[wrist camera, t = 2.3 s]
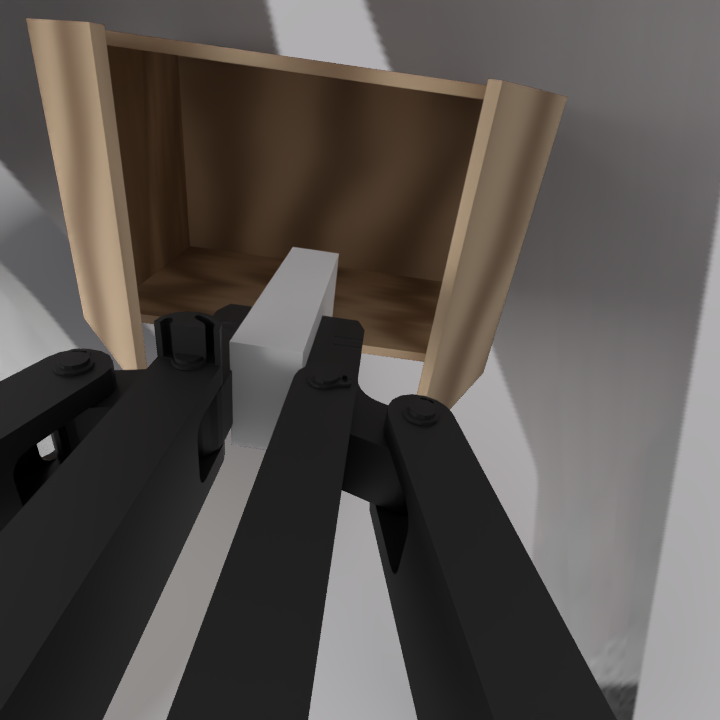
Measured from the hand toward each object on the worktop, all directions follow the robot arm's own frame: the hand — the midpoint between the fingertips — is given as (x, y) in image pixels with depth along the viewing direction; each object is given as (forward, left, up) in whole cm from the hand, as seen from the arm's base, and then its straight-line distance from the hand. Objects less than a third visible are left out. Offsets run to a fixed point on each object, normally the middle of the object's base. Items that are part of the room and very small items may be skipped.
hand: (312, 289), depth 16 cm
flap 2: (+6, 0, -4) cm, 7 cm away
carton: (-2, 0, -20) cm, 20 cm away
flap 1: (-10, 0, -5) cm, 11 cm away
